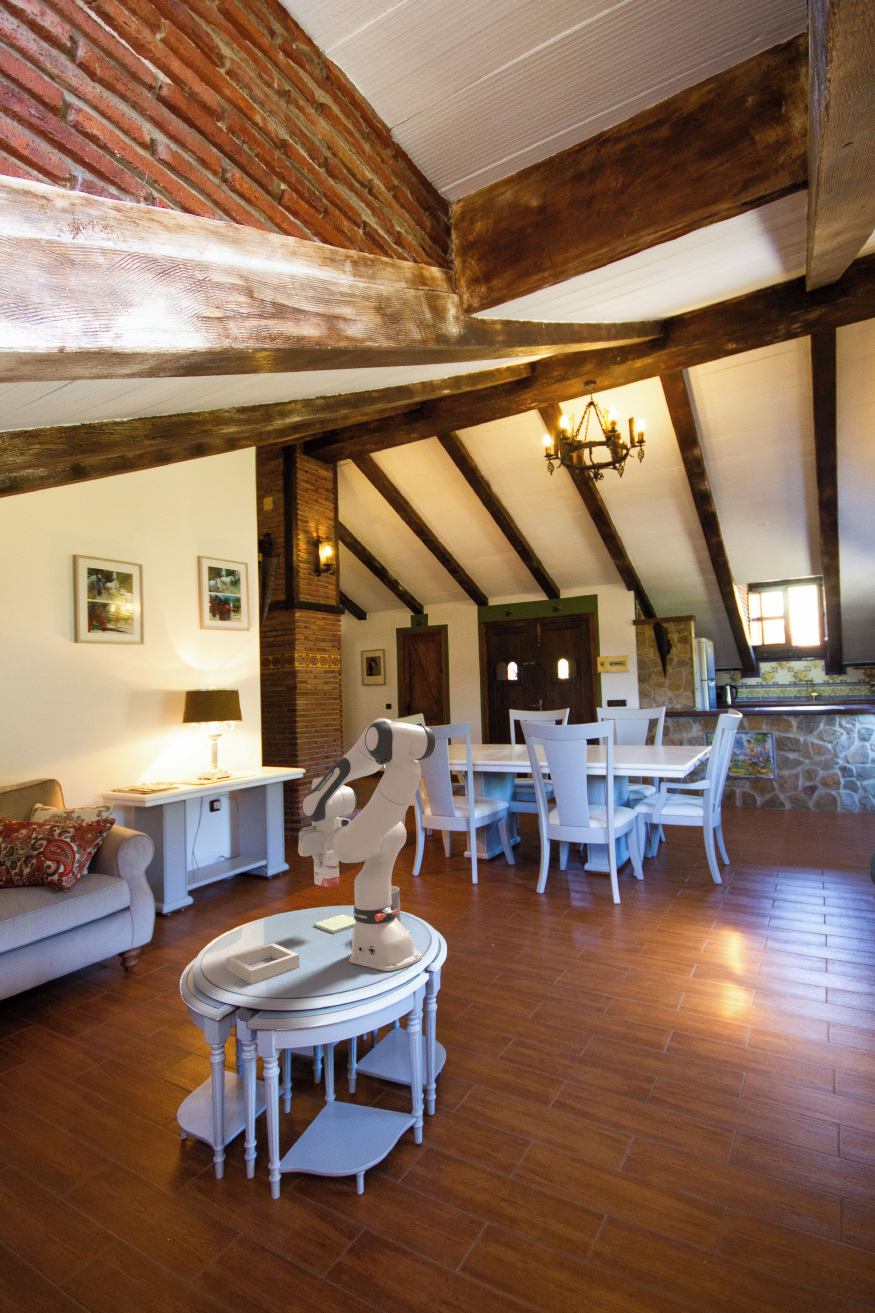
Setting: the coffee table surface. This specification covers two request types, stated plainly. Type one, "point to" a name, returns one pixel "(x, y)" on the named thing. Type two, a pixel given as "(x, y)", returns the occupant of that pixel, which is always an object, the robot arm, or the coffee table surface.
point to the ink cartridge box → (327, 868)
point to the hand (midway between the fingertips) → (326, 864)
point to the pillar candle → (396, 901)
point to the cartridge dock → (252, 975)
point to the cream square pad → (336, 924)
